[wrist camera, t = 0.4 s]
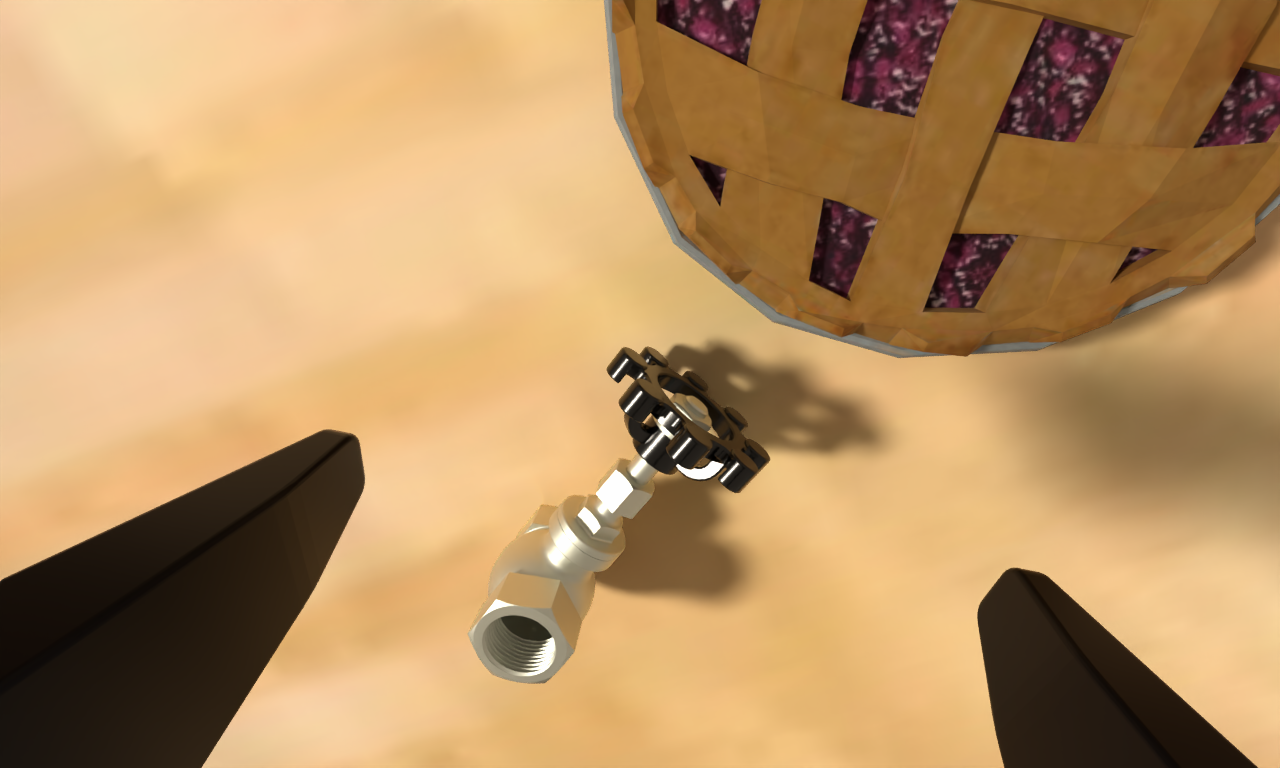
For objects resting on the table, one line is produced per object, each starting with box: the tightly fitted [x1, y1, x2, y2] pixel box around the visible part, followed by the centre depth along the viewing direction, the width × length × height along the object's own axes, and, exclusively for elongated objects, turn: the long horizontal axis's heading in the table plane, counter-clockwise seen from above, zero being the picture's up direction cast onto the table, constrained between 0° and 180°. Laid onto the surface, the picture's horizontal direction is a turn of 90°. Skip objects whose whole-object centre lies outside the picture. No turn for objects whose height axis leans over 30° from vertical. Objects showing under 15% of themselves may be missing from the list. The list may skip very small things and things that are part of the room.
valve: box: [468, 347, 770, 683], centre depth 22 cm, size 7×7×12 cm
